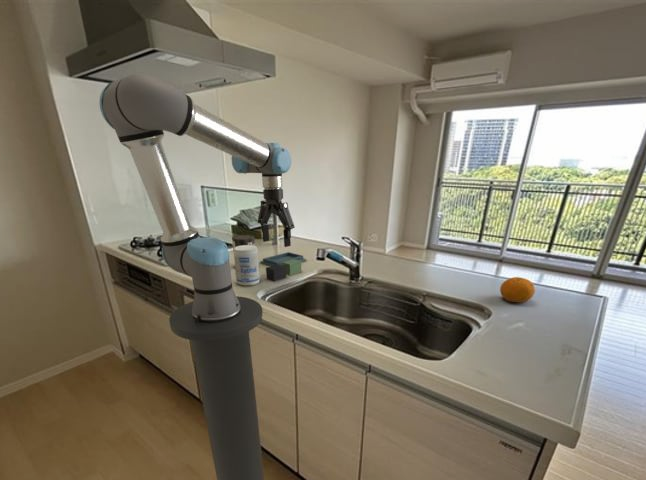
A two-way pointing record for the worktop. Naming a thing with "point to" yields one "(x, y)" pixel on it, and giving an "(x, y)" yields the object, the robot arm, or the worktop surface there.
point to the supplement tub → (246, 265)
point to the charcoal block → (276, 272)
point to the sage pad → (292, 266)
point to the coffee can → (242, 240)
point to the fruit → (517, 289)
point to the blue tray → (281, 259)
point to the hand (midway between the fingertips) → (276, 243)
